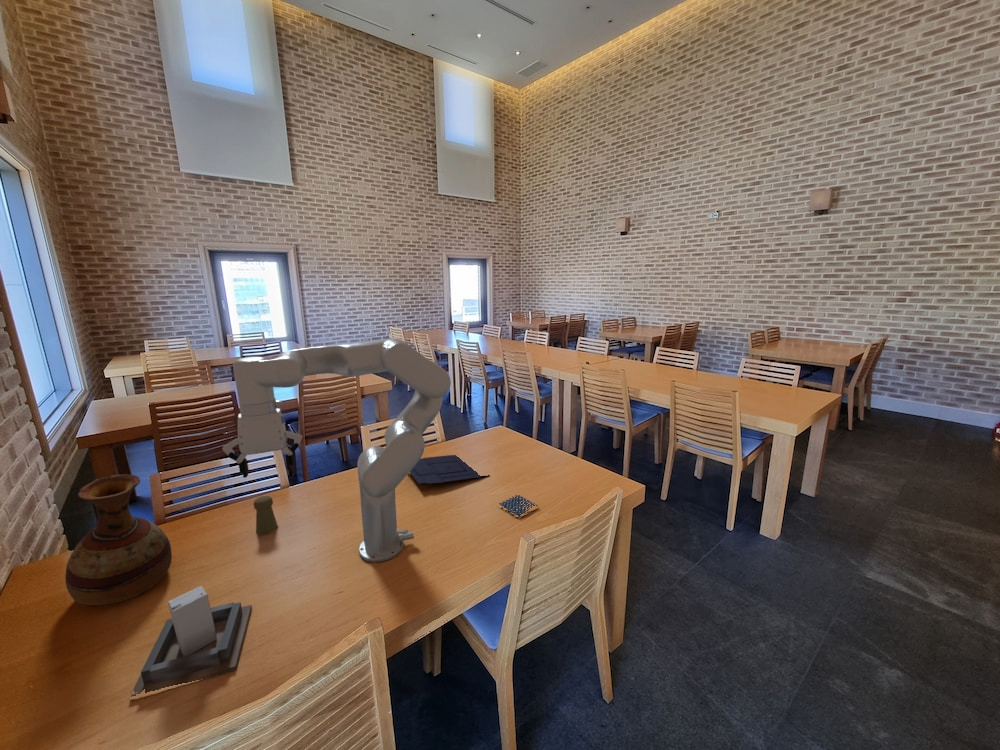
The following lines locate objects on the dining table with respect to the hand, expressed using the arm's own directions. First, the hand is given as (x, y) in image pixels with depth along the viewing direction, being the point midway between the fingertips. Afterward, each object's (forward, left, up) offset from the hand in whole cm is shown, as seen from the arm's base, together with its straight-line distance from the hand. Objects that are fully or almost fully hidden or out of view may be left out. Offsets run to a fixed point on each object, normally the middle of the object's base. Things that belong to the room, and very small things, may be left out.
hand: (268, 471), depth 101 cm
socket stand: (+14, +19, -30) cm, 38 cm away
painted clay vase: (+37, -10, -30) cm, 49 cm away
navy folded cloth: (-56, -41, -30) cm, 75 cm away
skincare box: (+14, +19, -29) cm, 38 cm away
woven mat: (-73, -6, -31) cm, 80 cm away
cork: (+7, -24, -30) cm, 39 cm away
